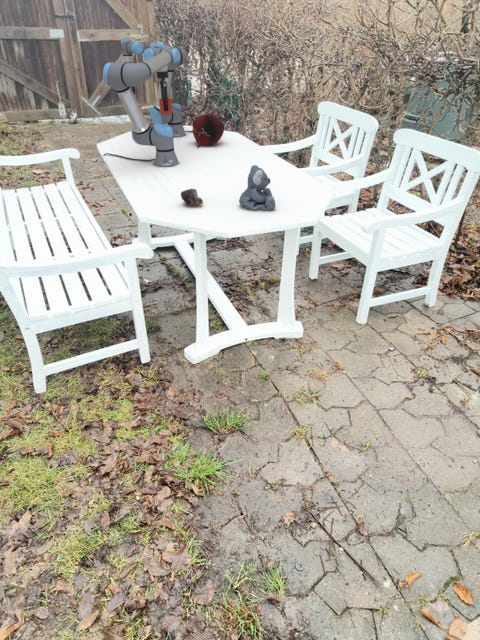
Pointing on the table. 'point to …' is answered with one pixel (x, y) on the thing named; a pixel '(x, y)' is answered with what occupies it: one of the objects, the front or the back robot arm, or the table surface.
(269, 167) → the table surface
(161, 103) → the brick
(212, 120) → the dark red round lump
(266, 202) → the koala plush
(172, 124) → the back robot arm
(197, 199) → the rock
